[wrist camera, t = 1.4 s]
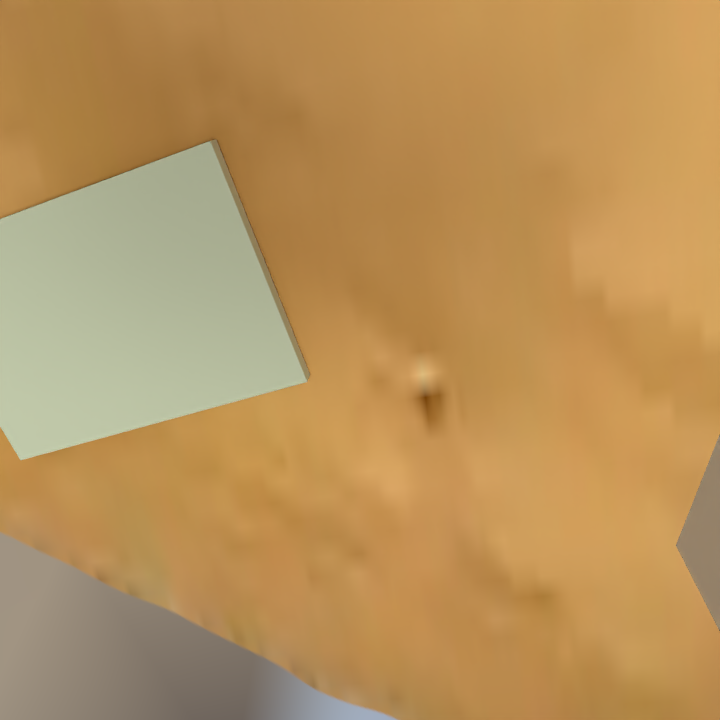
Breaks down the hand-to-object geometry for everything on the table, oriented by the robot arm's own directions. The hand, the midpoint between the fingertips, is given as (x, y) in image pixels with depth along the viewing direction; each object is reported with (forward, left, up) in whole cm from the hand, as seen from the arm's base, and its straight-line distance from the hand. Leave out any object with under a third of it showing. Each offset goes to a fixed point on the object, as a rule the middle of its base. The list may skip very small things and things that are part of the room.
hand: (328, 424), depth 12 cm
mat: (+1, -18, -25) cm, 31 cm away
